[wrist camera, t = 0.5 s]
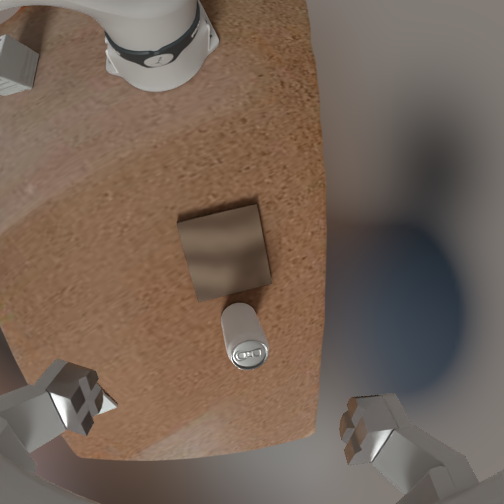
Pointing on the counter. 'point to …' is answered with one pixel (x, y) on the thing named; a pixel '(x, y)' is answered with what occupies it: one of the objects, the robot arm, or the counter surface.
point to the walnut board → (225, 252)
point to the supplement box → (16, 66)
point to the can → (244, 336)
